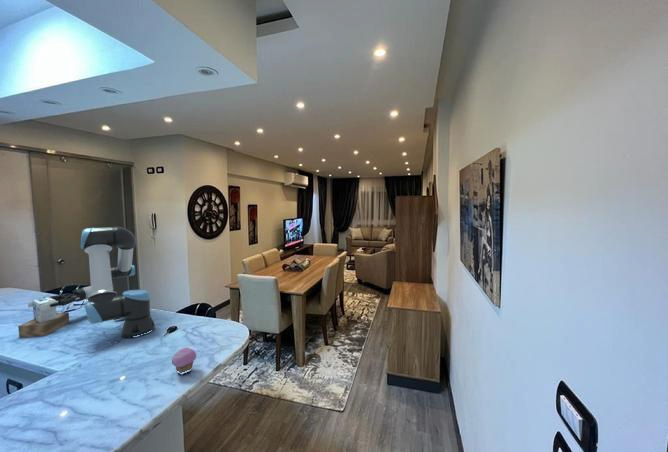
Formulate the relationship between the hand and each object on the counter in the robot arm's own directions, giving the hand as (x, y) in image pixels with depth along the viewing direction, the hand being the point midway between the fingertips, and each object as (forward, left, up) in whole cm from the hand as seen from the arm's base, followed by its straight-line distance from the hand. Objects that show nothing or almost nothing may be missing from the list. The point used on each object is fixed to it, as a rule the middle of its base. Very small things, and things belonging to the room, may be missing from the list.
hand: (34, 306), depth 145 cm
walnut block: (0, -4, -16) cm, 16 cm away
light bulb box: (0, -4, -9) cm, 9 cm away
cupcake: (-108, -1, -15) cm, 109 cm away
